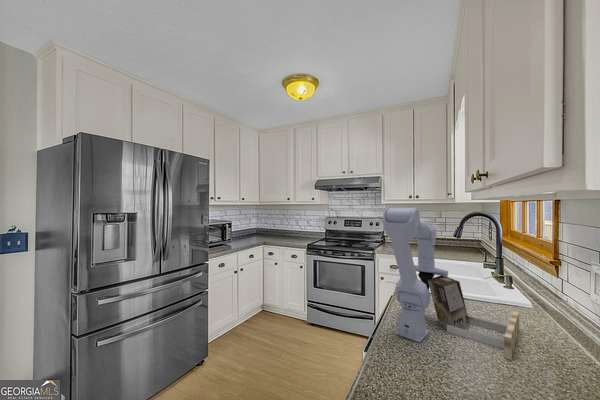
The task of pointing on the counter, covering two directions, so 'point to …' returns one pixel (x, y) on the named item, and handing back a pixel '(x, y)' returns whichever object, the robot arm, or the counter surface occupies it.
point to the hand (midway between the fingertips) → (426, 291)
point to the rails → (477, 335)
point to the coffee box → (449, 301)
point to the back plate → (511, 335)
